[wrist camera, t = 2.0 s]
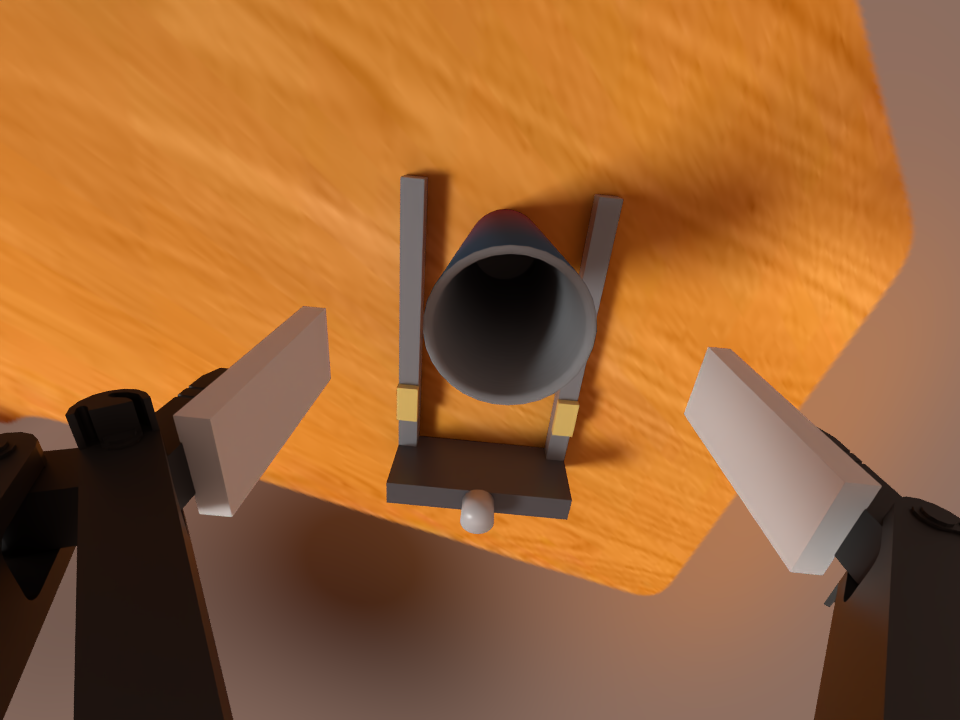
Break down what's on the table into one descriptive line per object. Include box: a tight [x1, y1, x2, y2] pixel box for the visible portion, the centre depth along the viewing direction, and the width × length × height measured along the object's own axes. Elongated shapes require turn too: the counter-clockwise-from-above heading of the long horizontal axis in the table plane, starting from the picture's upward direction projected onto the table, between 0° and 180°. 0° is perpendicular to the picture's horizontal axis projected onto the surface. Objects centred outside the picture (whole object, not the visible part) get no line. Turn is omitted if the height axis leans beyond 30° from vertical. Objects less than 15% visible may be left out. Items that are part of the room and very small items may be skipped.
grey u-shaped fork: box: [387, 175, 623, 534], centre depth 30 cm, size 23×14×8 cm, turn 175°
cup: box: [423, 209, 597, 405], centre depth 24 cm, size 7×7×15 cm
